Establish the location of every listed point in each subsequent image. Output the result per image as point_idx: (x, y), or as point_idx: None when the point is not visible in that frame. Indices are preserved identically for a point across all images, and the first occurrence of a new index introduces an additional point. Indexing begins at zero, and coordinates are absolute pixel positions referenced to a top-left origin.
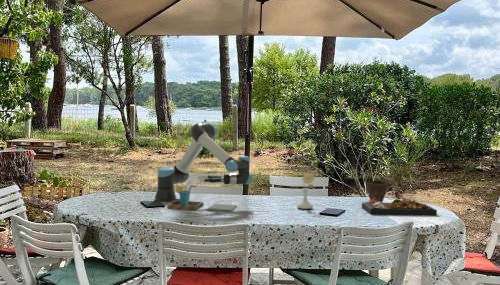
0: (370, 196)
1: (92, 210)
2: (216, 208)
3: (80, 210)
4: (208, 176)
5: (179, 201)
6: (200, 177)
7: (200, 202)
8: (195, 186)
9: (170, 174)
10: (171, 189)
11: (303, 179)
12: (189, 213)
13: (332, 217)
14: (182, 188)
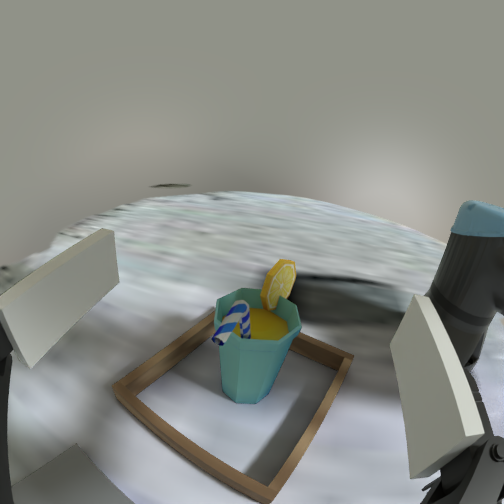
0: None
1: (252, 208)
2: (55, 496)
3: (258, 201)
4: (470, 463)
5: (338, 370)
6: (412, 340)
7: (273, 480)
8: (217, 330)
9: (475, 234)
10: (449, 317)
11: None
12: (69, 336)
13: None
14: (266, 283)
